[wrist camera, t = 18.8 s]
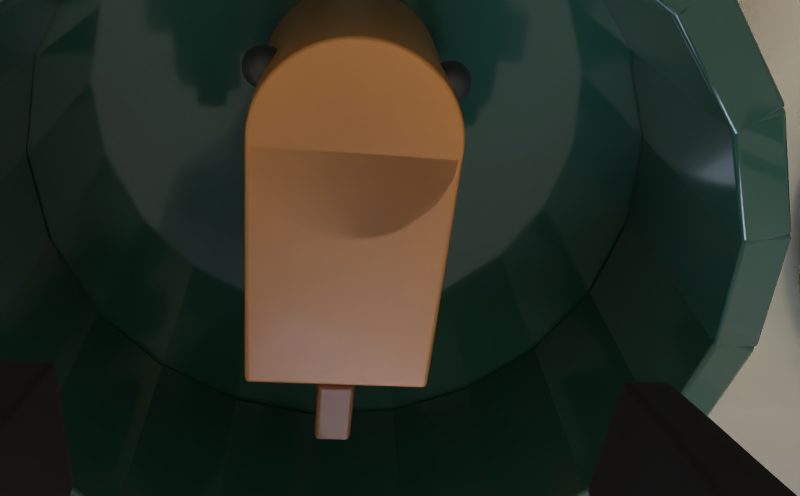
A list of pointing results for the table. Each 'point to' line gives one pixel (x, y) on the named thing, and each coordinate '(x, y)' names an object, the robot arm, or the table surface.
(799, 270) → the pot lid
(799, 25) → the table surface
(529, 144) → the pot
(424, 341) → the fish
